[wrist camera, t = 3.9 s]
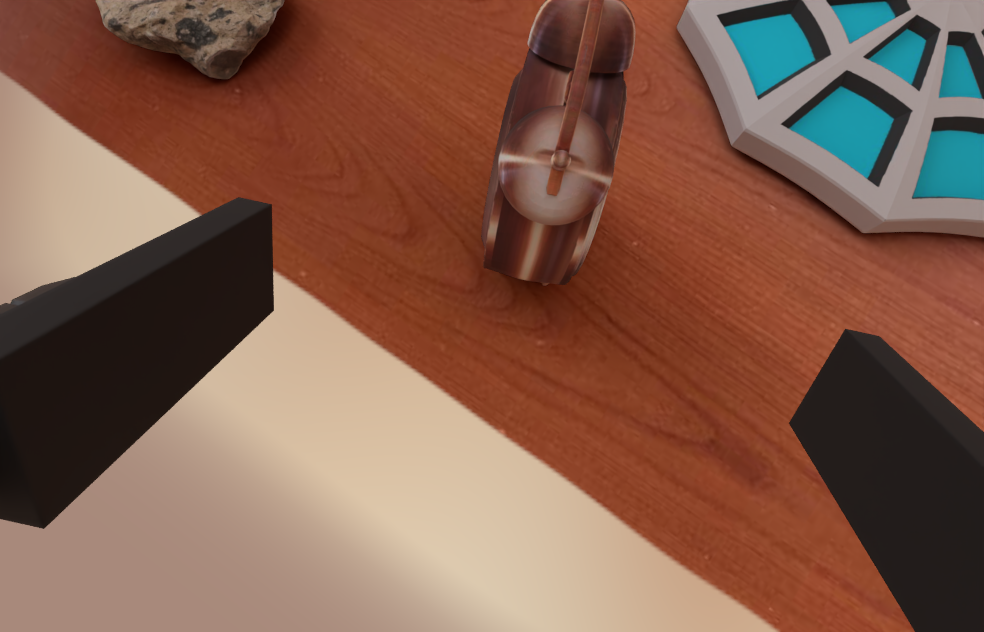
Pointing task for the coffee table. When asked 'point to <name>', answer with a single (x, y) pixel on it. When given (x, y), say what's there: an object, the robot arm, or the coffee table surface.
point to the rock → (193, 28)
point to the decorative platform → (855, 102)
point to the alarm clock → (558, 141)
